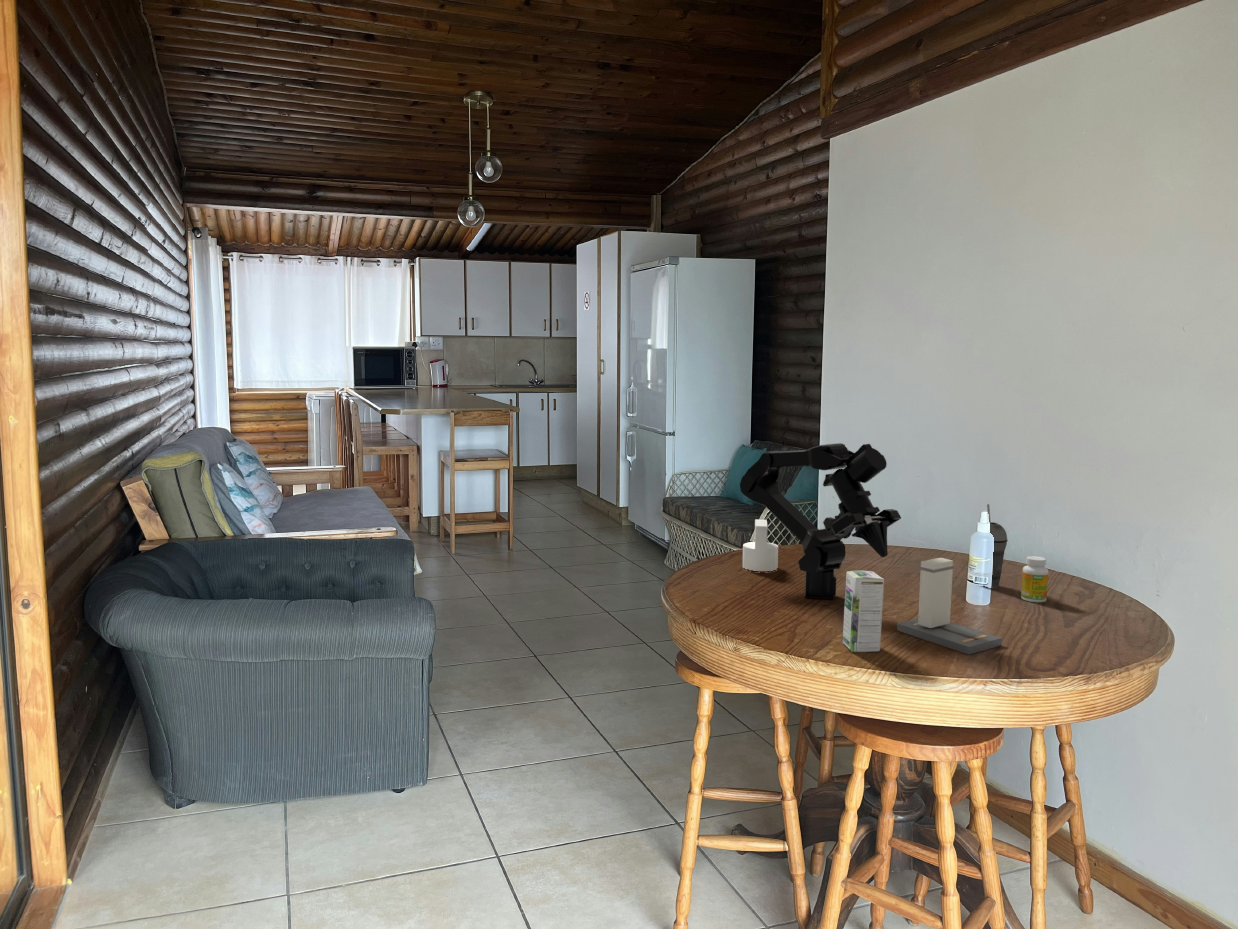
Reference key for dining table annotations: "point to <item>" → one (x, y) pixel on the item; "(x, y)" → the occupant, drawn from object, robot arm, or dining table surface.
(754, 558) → the base with upright slab
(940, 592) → the fader knob
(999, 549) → the beverage cup
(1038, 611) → the dining table surface
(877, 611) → the syrup box
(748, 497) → the robot arm
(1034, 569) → the supplement bottle
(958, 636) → the fader console
